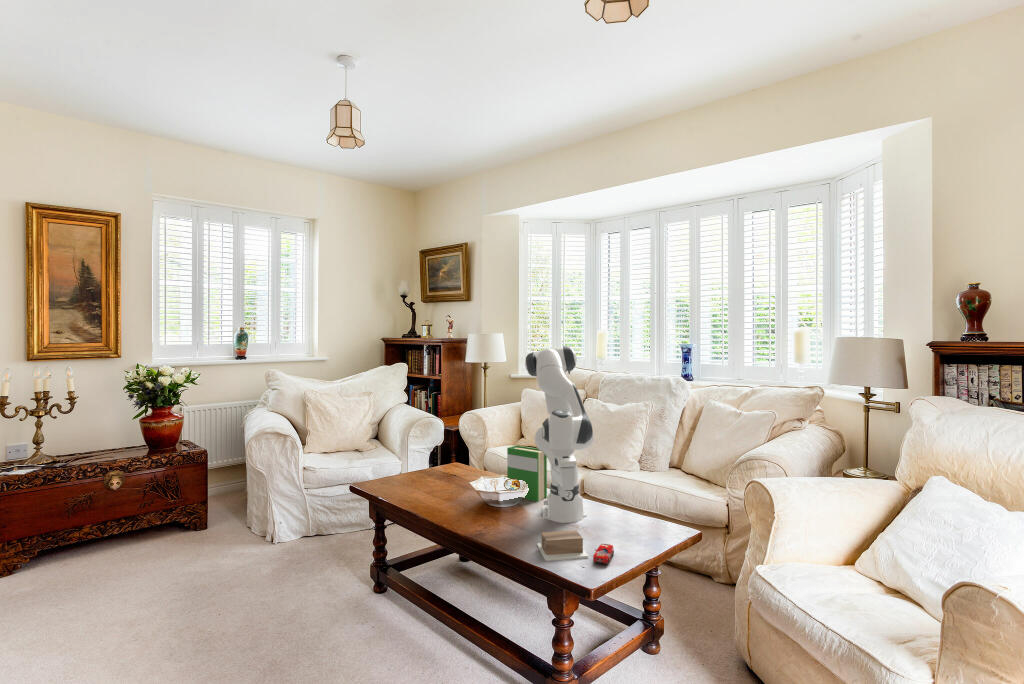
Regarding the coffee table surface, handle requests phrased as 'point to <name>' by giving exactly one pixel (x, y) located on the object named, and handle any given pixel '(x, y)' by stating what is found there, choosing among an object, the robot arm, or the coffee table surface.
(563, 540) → the walnut block
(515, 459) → the hardback book
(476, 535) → the coffee table surface
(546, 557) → the board
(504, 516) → the coffee table surface
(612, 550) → the race car
